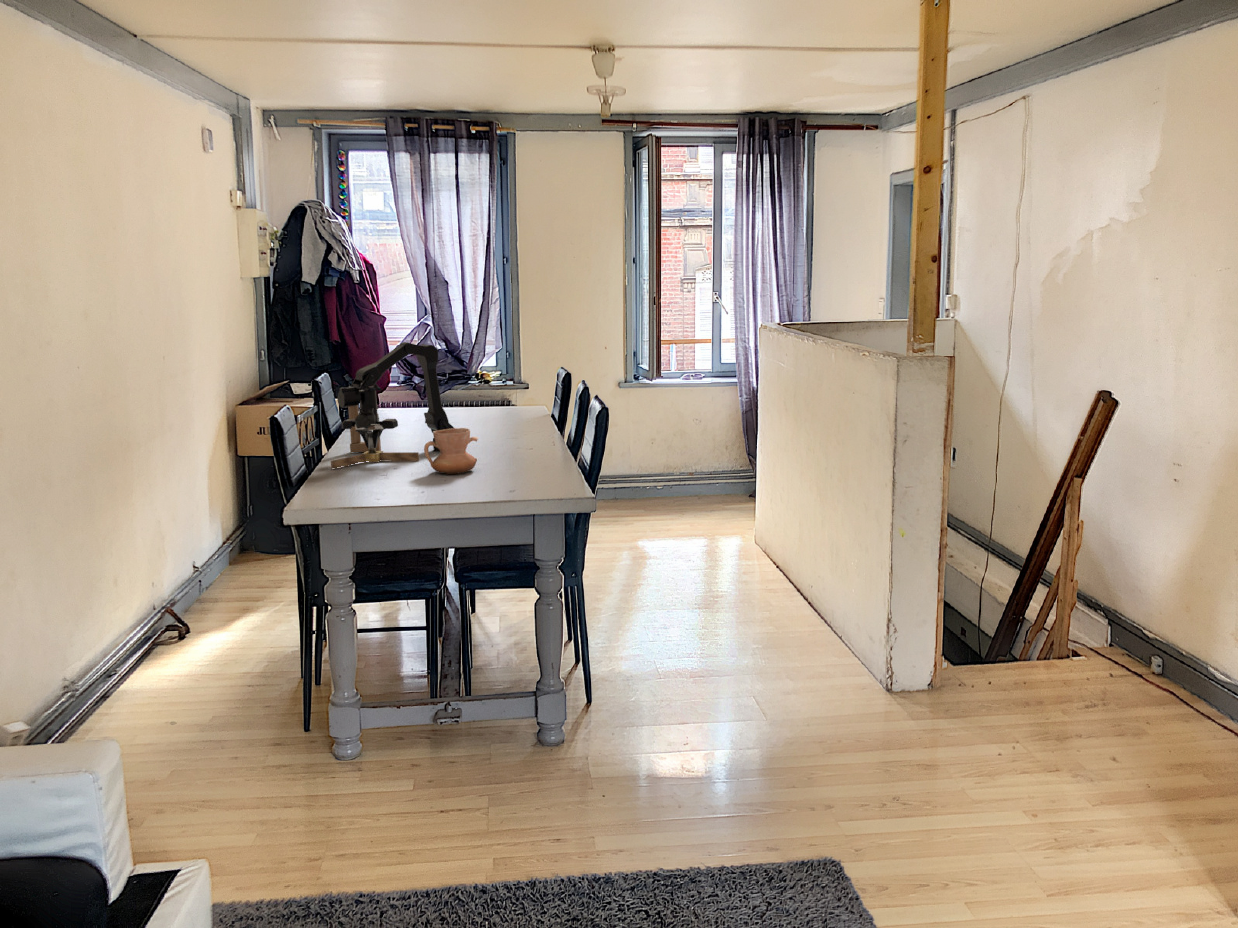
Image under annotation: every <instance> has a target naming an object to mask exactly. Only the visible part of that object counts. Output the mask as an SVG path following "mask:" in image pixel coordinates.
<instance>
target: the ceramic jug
mask: <svg viewBox="0 0 1238 928" xmlns="http://www.w3.org/2000/svg"><path fill="white" fill-rule="evenodd" d="M432 435H433V438H434V439H435V442H434V441H433V440H432V441H431V440H430V441H428V442H426V443H425V445H424V447H423V448H424V449H423V453H424V455H425V458H426V459H427V460H428V461H429V464H430V467H431V468H432V469H433V470H434V471H435V472H438V473H440V474H444V475H445V474H446V475H459V473H460V474H464V472H465V473H467V472H469V471H471V470H473V469H474V468H475V466H476V465H477V464H476V463H477V462H478V458H477V457H474V456H473V455H472V454H470V453H468V452H467V451H466V450H467V447H468V445H469V444H470V443H471V442H478V440H479V438H478V437H477V436H471V430H470V428H467V427H459V428H458V427H454V428H451V429H446V430H445V429H444V430H438V431H434V432H433V433H432ZM431 446H432V447H433V446H435V447H437V448H438V449H439V450H440V451H439V452H440V453H439V455H438V456H437V457H435V458H434V459H432V457H431V455H430V453H429V448H430V447H431Z"/></svg>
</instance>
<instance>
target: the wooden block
mask: <svg viewBox="0 0 1238 928" xmlns="http://www.w3.org/2000/svg"><path fill="white" fill-rule="evenodd" d="M347 408H348V419H355V418H356V417H357V415H359V404H358V405H357V406H351V407H347ZM378 417H379V414H378ZM379 418H380V417H379ZM374 429H375V426H370V427H369V428H368V430H374ZM355 430H356V427H352V428H351V429H349V433H350V443H349V450H350V453H351V452H366V451H369V450H368V448H367V447H366V444H365V442H364V441H361V440H362V439H361V437H362V436H361V434H360V433H359V432H358V431H355ZM375 451H382V446H381V437H380V438H379V441H378V445H377V447H376V448H375Z"/></svg>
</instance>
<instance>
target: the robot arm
mask: <svg viewBox="0 0 1238 928" xmlns="http://www.w3.org/2000/svg"><path fill="white" fill-rule="evenodd" d="M408 355H412V356H415V357H416V359H417V362H418V364H419V365H420V367H421V369H422V372H423V378H424V385H425V391H426V398H427V404H428V405H427V406H428V409H427V412H424V413H423V416H424V418H425V419H424V424H426V426H427V427H428V428H429V429H430V431H431V433H432V434H433V432H434V431H438V430H444V429H445V430H446V429H451V428H455V427H454V426H453V425H452V424H451V423H450V422H449V418H448V415H447V413H446V411H445V410H444V407H443V406H442V400H441V391H440V386H439V385H440V384H439V380H438V374H437V373H438V372H437V366H438V363H439V350H438V348H437V347H436V346H434V345H432V344H415V343H411V342H408V341H407V342H406V341H404V342H400V343H399V345H398V346H396V347H395V348H394V349H392V350H391V351H389V352H388V353H387V354H385V355H384V356H383V357H382V358H380V359H378V360H377V361H376V362H374V363H371V364H368V365H365V366H364V367H361V368H359V369H358V370H357V371H356V373H355V378H354V379H353V381H352V382H351V385H350V387H339V391H338V394H337V397H336V398H337V404H338V406H339V407H340V408H348V407H351V406H357V405H358V406H359V405H360V406H359V407H360V408H359V407H358V410H359V415H357V417H356V418H355V419H349V418H348V419H346V420H343V421H342V423H341V428H342V429H343V430H350V429H351V428H352V427H356V430H355V431H358V432H359V433H360V436H361V437H362V439H363V442H365V444H366V447H367V448H368V437H367V433H366V430H368V428H369V427H370V426H375V429H374V430H373V433H374V448H376V447H377V445H378V441H379V438H380V439H381V436H382V433H383V431H384V430H393V429H396V428H397V427H399V422H398V420H397V419H396V418H385V419H383V420H381V421H380V417H378V415H379V413H378V410H379V405H378V403H377V402H378V401H377V392H381V391H382V388H381V387H380V386H378V384H377V382H379V381H380V379H381V378H382V376H383V374H385V372H386V371H388V370H389V369H390V368H392V367H393V366H394V365H396V364H397V363H399V362H400V361H401V360H403V359H404V358H405V357H406V356H408ZM432 441H434V442H435V439H434V437H432ZM432 447H433V448H432V449H433V450H432V451H433V452H440V450H439V449H438V448H437V447H435V446H432Z"/></svg>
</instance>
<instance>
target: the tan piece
mask: <svg viewBox="0 0 1238 928" xmlns="http://www.w3.org/2000/svg"><path fill="white" fill-rule="evenodd" d="M419 454H420V453H419V452H417V451H416V452H415V451H414V452H409V451H407V452H401V451H399V452H398V451H397V452H394V451H393V452H392V451H391V452H390V451H389V452H386V451H383V450H381V451H376V454H369V451H366V452H364V453H360V454H357V455H352V456H349V457H348V456H347V457H342V458H337V459H333V460H330V468H337V467H341V466H348V465H351V464H355V463H358V462H366V461H369V462H378V461H380V460H391V461H390V462H419V461H420V455H419ZM380 462H381V461H380ZM378 463H379V462H378ZM348 467H349V466H348Z"/></svg>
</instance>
